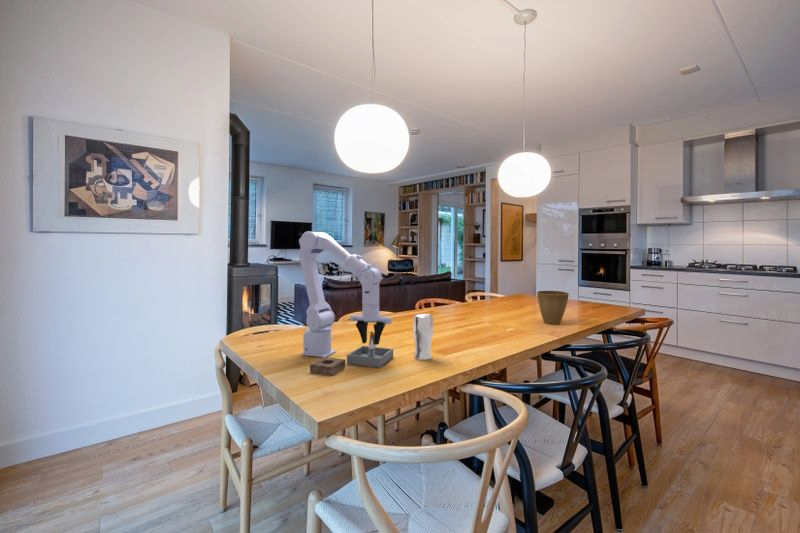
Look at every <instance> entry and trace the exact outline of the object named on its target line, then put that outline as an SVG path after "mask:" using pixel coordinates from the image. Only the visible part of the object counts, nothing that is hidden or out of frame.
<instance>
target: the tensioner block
mask: <svg viewBox="0 0 800 533" xmlns="http://www.w3.org/2000/svg"><path fill="white" fill-rule="evenodd" d="M345 368H346V359H344V358H337V357H336V358H334V357H329V356H327V357H320V358H319V359H317V360H315V361H314V362H311V363H309V372H310V373H312V374H319V375H327V376H335V375H336V374H337V373H338V372H340V371H342V370H344V369H345Z"/></svg>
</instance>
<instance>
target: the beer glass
mask: <svg viewBox="0 0 800 533" xmlns="http://www.w3.org/2000/svg"><path fill="white" fill-rule="evenodd" d="M412 323H413V324H412V330H413V337H414V338H413V339H414V344H415V345H414V346H415V351H414V355H413V356H414V359H415V360H419V361H430V360H431V359H432V358H433V357H432V348H431V346H432V339H433V333H434V316H433V315H432V314H429V313H417V314H414V315H413V322H412Z"/></svg>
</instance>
